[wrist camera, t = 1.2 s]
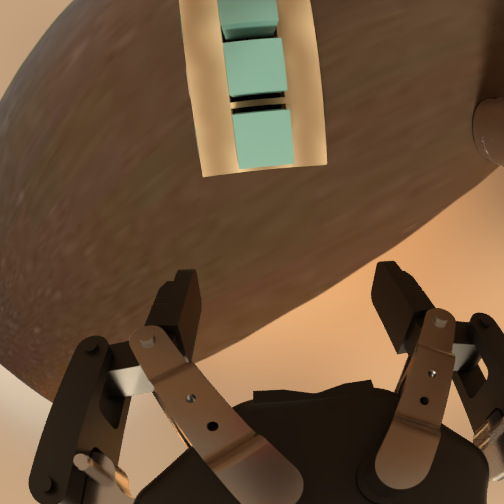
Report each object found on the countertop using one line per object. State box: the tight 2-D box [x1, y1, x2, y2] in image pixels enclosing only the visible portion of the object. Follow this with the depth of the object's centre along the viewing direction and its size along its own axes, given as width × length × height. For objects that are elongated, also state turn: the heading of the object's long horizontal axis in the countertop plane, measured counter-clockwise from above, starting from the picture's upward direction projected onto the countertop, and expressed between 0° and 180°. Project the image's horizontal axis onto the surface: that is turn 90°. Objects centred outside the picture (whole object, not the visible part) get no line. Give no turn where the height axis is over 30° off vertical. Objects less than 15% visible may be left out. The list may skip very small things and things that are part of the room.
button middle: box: [223, 38, 288, 97], centre depth 21 cm, size 4×4×6 cm
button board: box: [179, 0, 327, 177], centre depth 24 cm, size 12×19×4 cm, turn 6°
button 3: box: [232, 109, 294, 169], centre depth 24 cm, size 4×4×6 cm
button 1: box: [217, 0, 279, 41], centre depth 18 cm, size 4×4×6 cm
